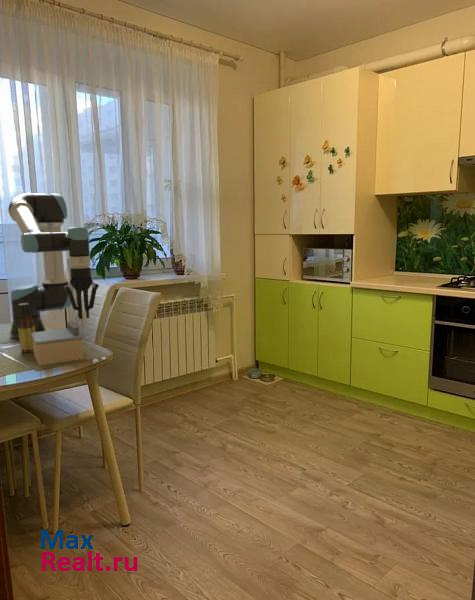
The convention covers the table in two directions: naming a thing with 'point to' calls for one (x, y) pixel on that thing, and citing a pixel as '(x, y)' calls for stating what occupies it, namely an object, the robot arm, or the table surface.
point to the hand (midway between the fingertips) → (84, 326)
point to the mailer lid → (57, 334)
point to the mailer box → (58, 351)
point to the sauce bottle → (25, 328)
